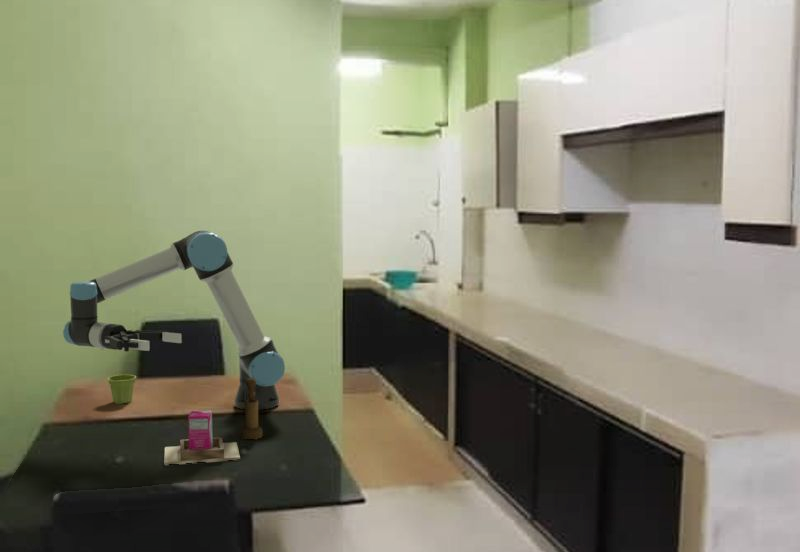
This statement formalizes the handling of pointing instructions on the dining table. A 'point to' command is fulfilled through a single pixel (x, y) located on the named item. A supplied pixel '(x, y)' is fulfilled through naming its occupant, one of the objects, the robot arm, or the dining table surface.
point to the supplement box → (200, 430)
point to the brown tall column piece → (251, 414)
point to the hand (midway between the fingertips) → (165, 342)
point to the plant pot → (122, 388)
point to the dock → (201, 453)
